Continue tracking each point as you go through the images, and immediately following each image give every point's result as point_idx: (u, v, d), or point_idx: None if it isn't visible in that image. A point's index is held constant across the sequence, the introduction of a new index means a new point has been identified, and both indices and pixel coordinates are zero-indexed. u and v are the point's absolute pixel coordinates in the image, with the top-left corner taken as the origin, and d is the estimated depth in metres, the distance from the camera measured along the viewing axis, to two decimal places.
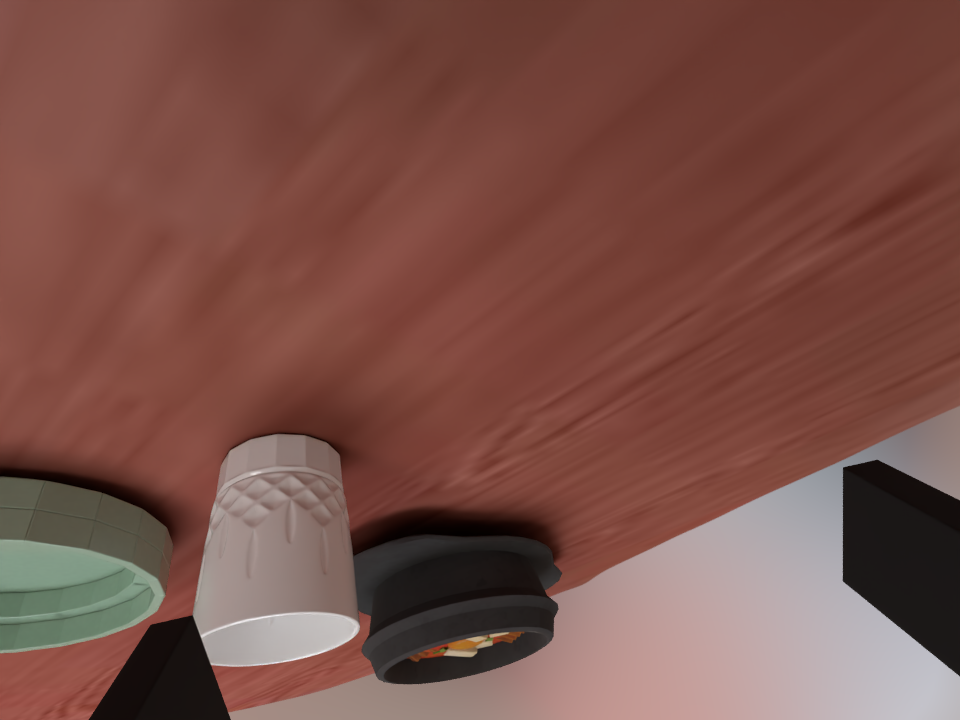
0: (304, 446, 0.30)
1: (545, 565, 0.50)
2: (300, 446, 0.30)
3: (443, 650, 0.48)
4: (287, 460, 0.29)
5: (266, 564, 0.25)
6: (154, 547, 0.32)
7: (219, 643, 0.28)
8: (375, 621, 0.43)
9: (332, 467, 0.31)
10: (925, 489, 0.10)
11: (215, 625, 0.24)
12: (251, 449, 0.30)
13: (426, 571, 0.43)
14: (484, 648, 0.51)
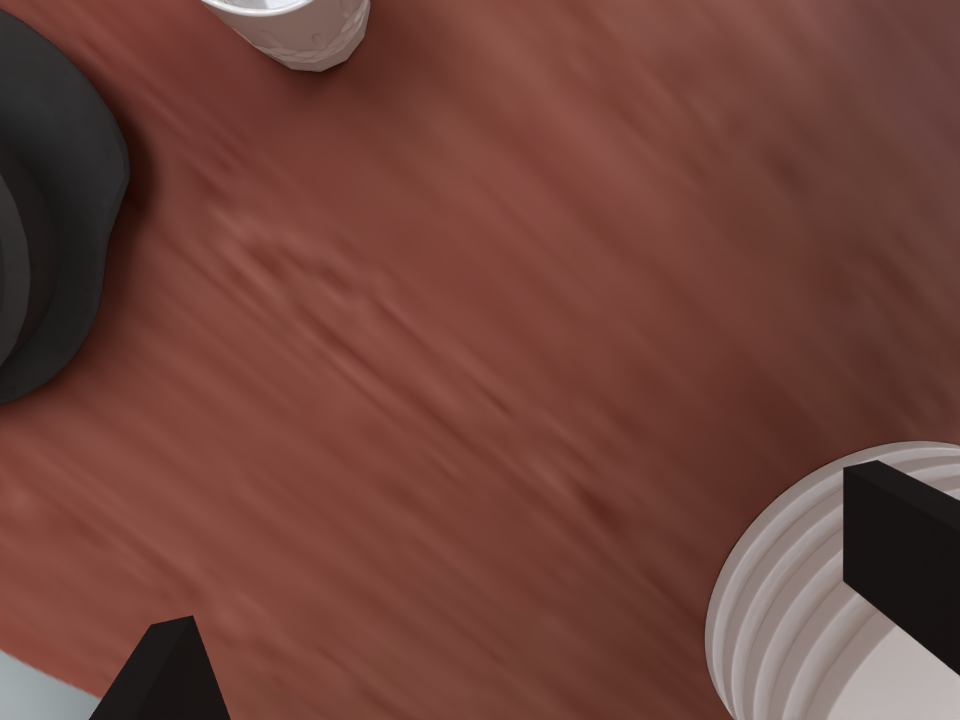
0: (363, 32, 0.28)
1: None
2: (364, 27, 0.28)
3: None
4: None
5: None
6: None
7: None
8: None
9: (336, 56, 0.28)
10: (925, 489, 0.10)
11: None
12: None
13: (22, 175, 0.26)
14: None
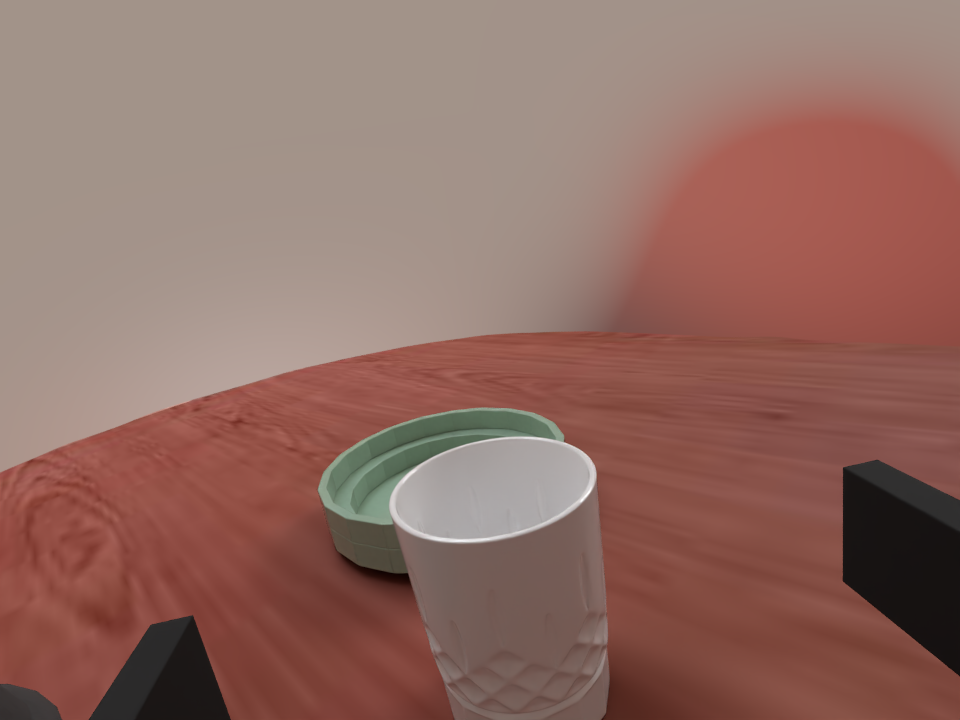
0: (605, 697, 0.21)
1: None
2: (605, 692, 0.21)
3: None
4: (605, 659, 0.22)
5: None
6: None
7: (456, 470, 0.24)
8: None
9: (571, 717, 0.20)
10: (925, 489, 0.10)
11: None
12: None
13: None
14: None
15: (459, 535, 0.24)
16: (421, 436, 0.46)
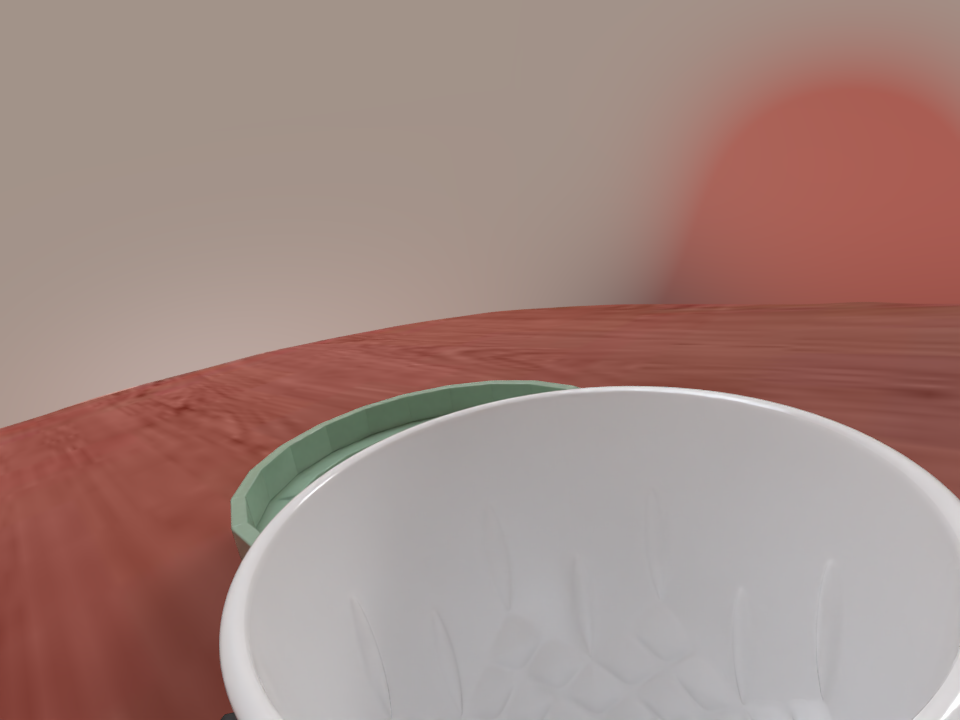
0: None
1: None
2: None
3: None
4: None
5: None
6: None
7: (455, 466, 0.10)
8: None
9: None
10: None
11: None
12: None
13: None
14: None
15: (462, 620, 0.10)
16: (406, 421, 0.32)
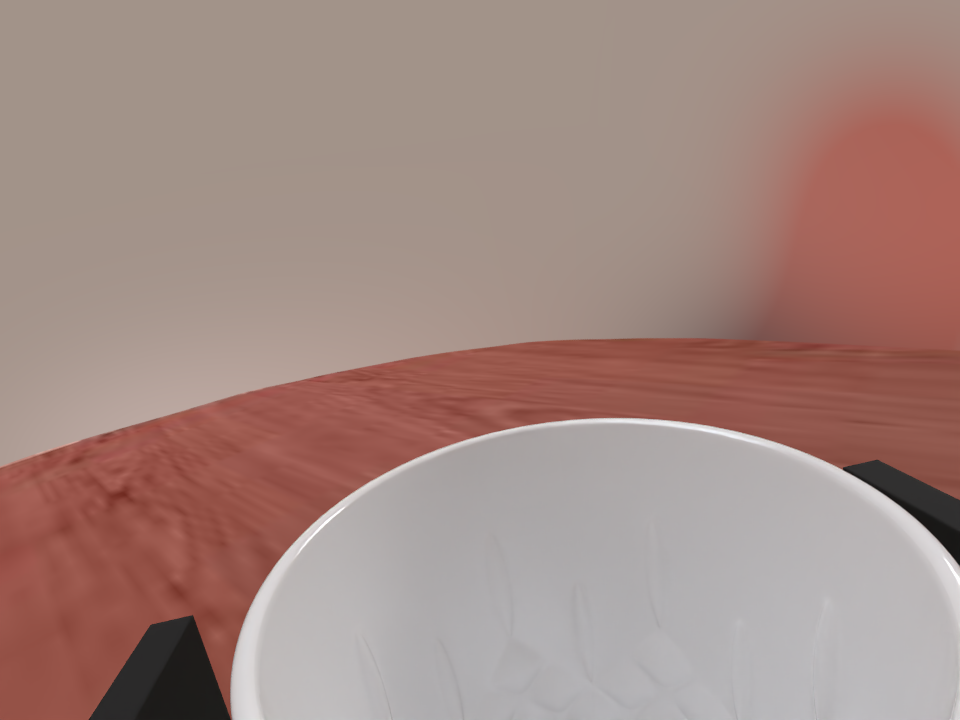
0: None
1: None
2: None
3: None
4: None
5: None
6: None
7: (457, 496, 0.10)
8: None
9: None
10: (925, 489, 0.10)
11: None
12: None
13: None
14: None
15: (465, 647, 0.10)
16: None
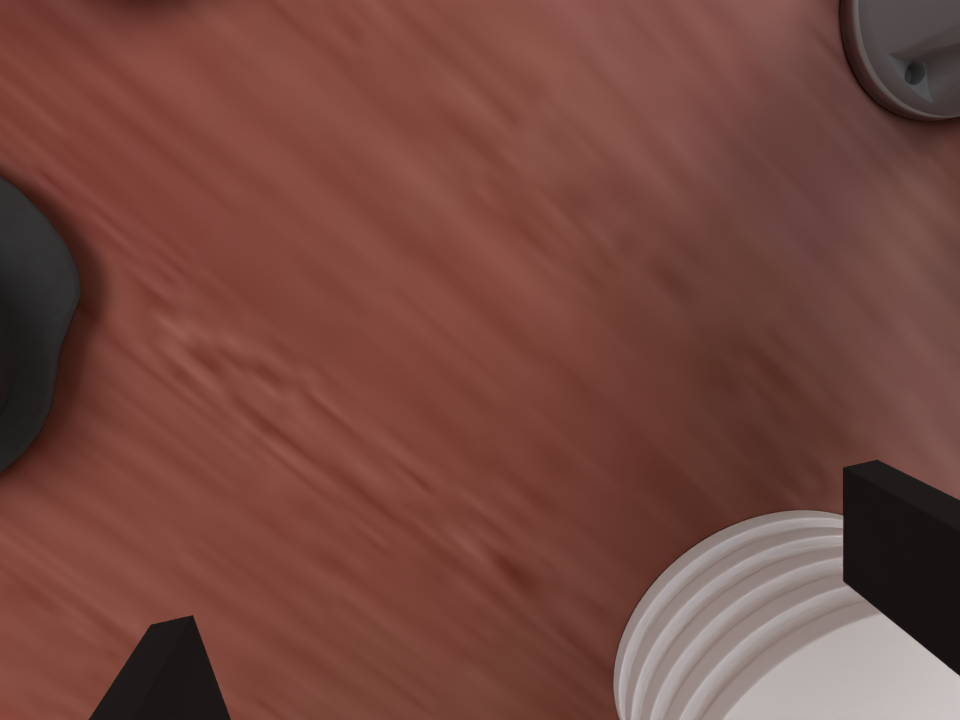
0: None
1: None
2: None
3: None
4: None
5: None
6: None
7: None
8: None
9: None
10: (925, 489, 0.10)
11: None
12: None
13: None
14: None
15: None
16: None
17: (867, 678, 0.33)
